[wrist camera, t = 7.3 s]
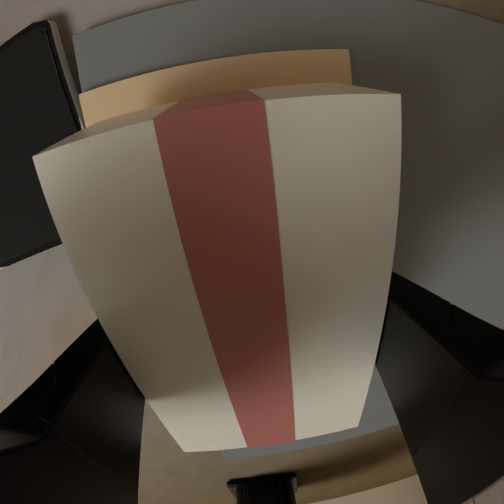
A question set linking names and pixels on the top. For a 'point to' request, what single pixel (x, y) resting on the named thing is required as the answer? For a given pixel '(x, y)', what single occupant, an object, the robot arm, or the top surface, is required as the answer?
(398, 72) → the mat
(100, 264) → the card box
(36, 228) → the smartphone
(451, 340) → the robot arm
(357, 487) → the top surface
